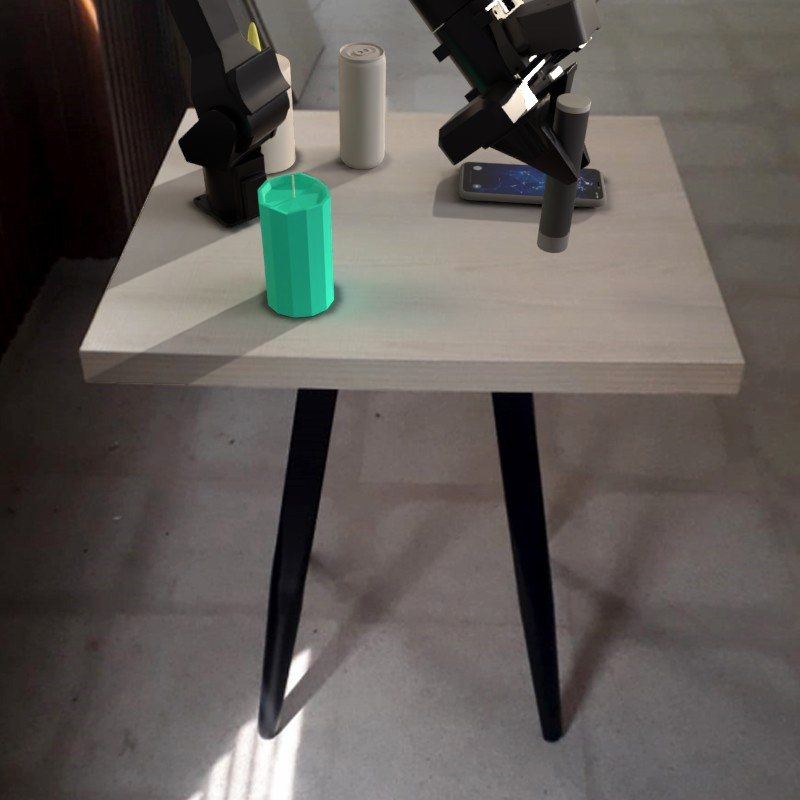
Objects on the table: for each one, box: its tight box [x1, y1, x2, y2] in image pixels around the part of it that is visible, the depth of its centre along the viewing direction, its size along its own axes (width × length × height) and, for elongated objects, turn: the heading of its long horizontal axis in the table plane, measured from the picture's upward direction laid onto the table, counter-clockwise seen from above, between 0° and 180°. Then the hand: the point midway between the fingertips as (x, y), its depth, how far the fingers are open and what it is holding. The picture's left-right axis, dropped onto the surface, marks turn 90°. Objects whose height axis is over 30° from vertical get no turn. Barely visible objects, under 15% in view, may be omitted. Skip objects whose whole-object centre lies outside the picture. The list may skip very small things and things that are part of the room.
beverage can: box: [337, 41, 387, 170], centre depth 99 cm, size 5×5×12 cm
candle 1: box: [247, 22, 296, 175], centre depth 98 cm, size 6×6×15 cm
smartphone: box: [458, 161, 608, 208], centre depth 99 cm, size 7×1×15 cm
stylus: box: [536, 92, 592, 254], centre depth 77 cm, size 3×3×13 cm
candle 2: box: [258, 172, 335, 318], centre depth 80 cm, size 6×6×12 cm
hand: (579, 174), depth 76 cm, fingers closed on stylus, 2 cm apart
